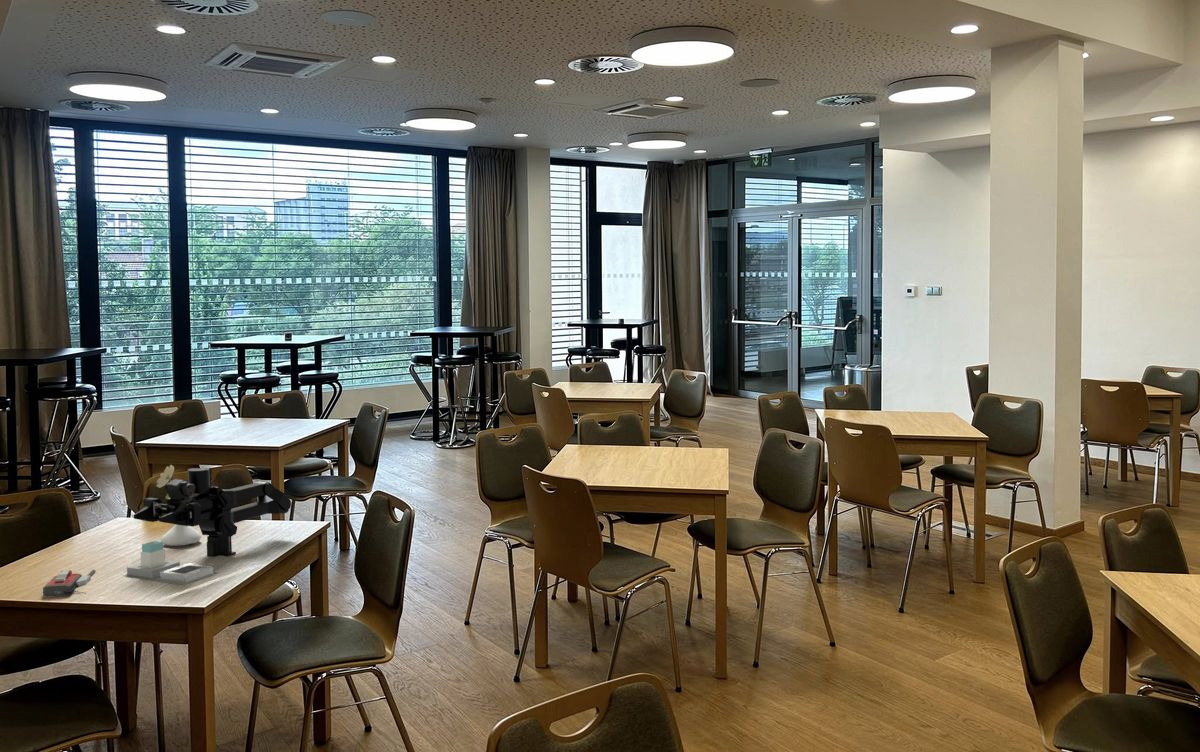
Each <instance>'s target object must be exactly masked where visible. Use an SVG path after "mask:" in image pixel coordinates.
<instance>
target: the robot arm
mask: <svg viewBox="0 0 1200 752" xmlns="http://www.w3.org/2000/svg"><path fill="white" fill-rule="evenodd" d="M212 485H213V484H212V468H211V467H202V468H200V467H198V468H196V467H195V468H193V467H192V468H188V469H187V481H185V480H184V479H175V478H174V479H171V481H170V480H169V481H168V483H166V484H165V485H164V488H165V490H166V492H167V494H168V495H169V497H170V498H166V503H165V504H164V503H163V502H162V499H160V498H157V497H156V498H155V497H147V498H144V499H143V500H142V501H143V502H142V503H143V507H142V508H141V509H139V510H138V511H137V512H136V513H134V514H133V519H134V520H139V521H145V522H149V523H154V522H159V523H165V524H170V525H175V524H176V525H182V526H190V527H192V528H193V527H197V526H198V527H199V529H200V532H201V536H207V537H206V541H207V542H206V556H207V557H213V558H214V557H218V556H221V557H231V556H233V555H237V552H236V551H232V550H233V549H232V537H233V536H235V535H236V534H237V531H238V526H237V525H236V524H237V523H241V522H243V521H247V520H250V519H254V518H257V517H261V516H264V515H267V514H268V515H282V514H288V512H289V511H290V510H291V509H290V508H291V506H292V501H291V498H290V497H289V495H287V494H286V493H284V492H283V491H281V490H280V489H278V488H276V486H274V485H273V484H272V483H270V482H269V481H255V482H254V483H250V484H246V485H242V486H241V485H240V486H237V487H234V488H230V489H229V488H227V489H223V488H221V487H219V486H212ZM193 494H195V495H193ZM191 495H192V496H191ZM255 498H257V501H255V502H251V503H248V504H247V503H246V504H245V505H241V506H236V504H238V503H239V502H244V501H248V500H251V499H255ZM235 506H236V507H235ZM233 507H234V508H233ZM163 514H164V515H163Z"/></svg>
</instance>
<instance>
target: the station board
mask: <svg viewBox="0 0 1200 752" xmlns="http://www.w3.org/2000/svg"><path fill="white" fill-rule="evenodd" d="M216 574H217V575H218V572H214V571H213V574H212V575H209V576H206V577H203V578H200V579H197V580H194V581H192V582H189V583H179V582H173V581H166V580H160V576H158V577H155V578H146V577H139V576H133V575H127V573H126V574H122V577H128V578H133V579H139V580H141V579H142V580H146V581H147V580H148V581H153V582H154V581H155V582H161V583H165V584H166V583H167V584H173V585H179V586H186V585H189V584H191V583H194V582H197V581H200V580H202V579H205V578H207V577H210V576H213V575H216Z"/></svg>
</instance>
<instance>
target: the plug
mask: <svg viewBox="0 0 1200 752" xmlns="http://www.w3.org/2000/svg"><path fill="white" fill-rule="evenodd" d="M166 560H167V558H166V548H164V544H163V542H162V541H161V540H153V541H149V542H146V543H141V551H140V563H141V567H142V568H149V569H151V568H155V567H158V566H161V565H164V564H166Z"/></svg>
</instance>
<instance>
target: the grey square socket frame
mask: <svg viewBox="0 0 1200 752" xmlns="http://www.w3.org/2000/svg"><path fill="white" fill-rule="evenodd" d="M180 564H181V562H180V561H175V560H167V559H166V564H164V565H161V566H158V567H155V568H151V569H149V568H142V567H141V562H140V563H137V564H134V565H133V564H132V565H130V566H126V574H127V575H133V576H139V577H146V578H155V577H158V576H160V572H162V571H165V570H168V569H172V568H175V567H178V566H181V565H180Z"/></svg>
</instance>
